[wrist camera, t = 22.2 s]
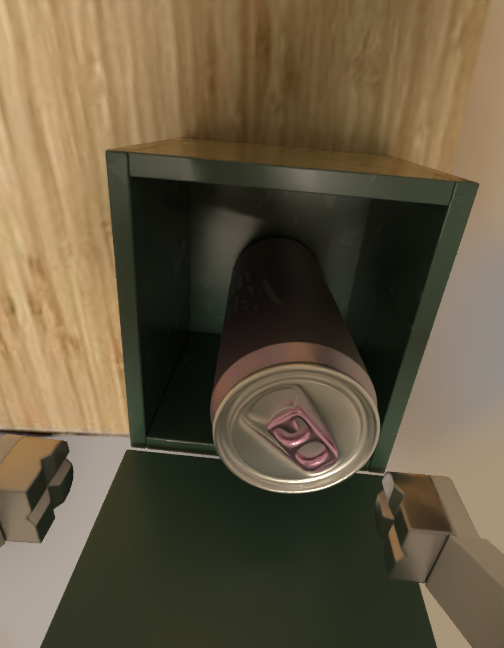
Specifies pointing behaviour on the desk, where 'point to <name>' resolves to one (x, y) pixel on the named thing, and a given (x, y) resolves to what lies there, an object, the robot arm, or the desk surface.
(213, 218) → the dark green box
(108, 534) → the lid
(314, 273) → the beverage can
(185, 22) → the desk surface
